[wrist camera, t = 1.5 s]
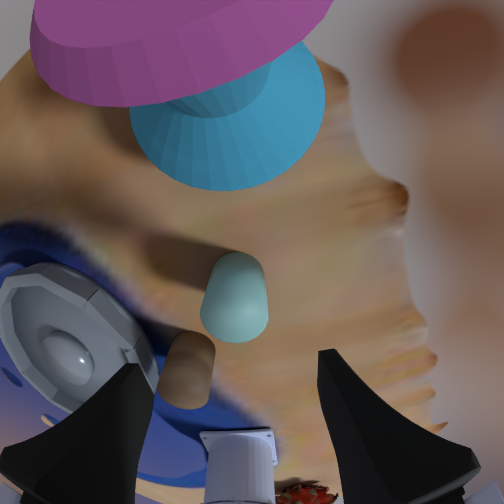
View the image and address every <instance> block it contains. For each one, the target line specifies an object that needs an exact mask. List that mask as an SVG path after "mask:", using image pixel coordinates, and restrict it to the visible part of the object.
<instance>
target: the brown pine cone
mask: <svg viewBox="0 0 504 504" xmlns="http://www.w3.org/2000/svg"><path fill="white" fill-rule="evenodd" d="M316 488H317V489H316ZM328 491H329V487H326V486H325V487H324V486H323V487H322V486H307V487H304V488H302V486H301V484H297V485H296V486H294V487H293V488H292V489H289V488H287V489H284V490H283V491H282V494H281V495H280V496H275V504H333V503H334V502H335V501H336V499H337V497H338V493H337V494H336V496H334V495H332V494H327V493H326V492H328Z"/></svg>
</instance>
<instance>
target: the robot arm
mask: <svg viewBox="0 0 504 504" xmlns="http://www.w3.org/2000/svg"><path fill="white" fill-rule="evenodd" d="M317 387H318V393H319V398H320V403H321V408H322V411H323V415H324V418H325V421H326V424H327V427H328V430H329V434H330V437H331V440H332V443H333V446H334V450H335V453H336V457H337V462H338V467H339V473H340V479H341V485H342V492H343V499H344V504H504V499H503V497H502V494H501V492H500V490H499V488H498V485H497V483H496V481H493V482H491V483H490V484H489V485H487V486H486V487H484V488H483V489H481V490H480V491H478V492H477V493H475V494H473V495H472V496H471V497H469V498H467V499H466V500H463V498H462V495H464V494H465V491H464V488H463V486H464V485H465V484H466V483H467V482H468V481H470V480H471V479H472V478H473V477H474V476H475V475H476V474H478V472H479V471H480V469H481V466H480V464H479V462H478V460H477V458H476V456H475V454H474V453H473V451H472V449H471V448H468V447H465V446H462V445H459V444H456V443H453V442H451V441H448V440H446V439H444V438H441V437H439V436H437V435H435V434H433V433H431V432H429V431H427V430H426V429H424V428H422V427H420V426H419V425H417V424H415V423H413V422H412V421H410V420H409V419H407V418H406V417H404V416H403V415H401V414H400V413H399V412H397V411H396V410H395V409H393V408H392V407H391V406H390V405H388V404H387V403H386V402H385V401H383V400H382V399H381V398H380V397H379V396H378V395H377V394H376V393H375V392H373V391H372V390H371V389H370V388H369V387H368V386H367V385H366V384H365V383H364V382H363V381H362V379H361V378H360V377H359V376H358V375H357V374H356V373H355V372H354V371H353V370H352V369H351V367H350V366H349V365H348V364H347V363H346V362H345V360H344V359H343V358H342V357H341V355H340V354H339V353H338V352H337V350H335V349H328V350H322V351H318V378H317ZM154 396H155V395H154V393H153V391H152V389H151V387H150V385H149V383H148V381H147V379H146V377H145V375H144V373H143V371H142V369H141V367H140V365H139V363H126V364H124V365H123V366H122V367H121V368H120V369H119V370H118V371H117V372H116V373H115V374H114V375H113V376H112V377H111V378H110V379H109V380H108V381H107V382H106V383H105V384H104V385H103V386H102V387H101V388H100V389H99V390H98V391H97V392H96V393H95V394H94V395H93V396H91V397H90V398H89V399H88V400H87V401H86V402H85V403H84V404H82V405H81V406H80V407H79V408H78V409H77V410H76V411H74V412H73V413H72V414H71V415H69V416H68V417H67V418H65V419H64V420H62V421H61V422H59V423H58V424H56V425H55V426H53V427H51V428H50V429H48V430H46V431H45V432H43V433H41V434H39V435H37V436H35V437H33V438H30V439H28V440H26V441H23V442H20V443H17V444H14V445H11V446H8V447H5V448H4V449H3V451H2V453H1V455H0V473H1V474H2V475H3V476H5V477H6V478H7V479H8V480H10V481H11V482H12V483H13V484H15V485H16V486H17V487H19V488H20V489H21V490H23V491H24V492H23V495H21V494H20V493H19V492H17V491H16V490H14V489H13V488H11V487H10V486H8V485H7V484H5V483H4V482H2V484H1V486H0V504H135V486H136V476H137V468H138V462H139V458H140V454H141V450H142V447H143V443H144V440H145V437H146V433H147V430H148V426H149V423H150V419H151V415H152V410H153V403H154ZM199 435H200V438H201V440H202V441H203V443H204V445H205V447H206V449H207V451H208V453H209V456H208V466H207V475H206V485H205V496H204V503H200V504H275V489H274V474H273V466H274V465H277V456H276V448H275V441H274V434H273V430H272V429H258V430H243V431H202V432H200V434H199Z"/></svg>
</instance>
